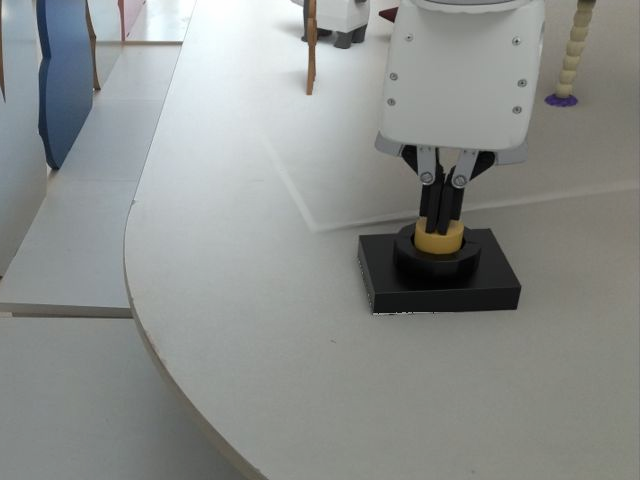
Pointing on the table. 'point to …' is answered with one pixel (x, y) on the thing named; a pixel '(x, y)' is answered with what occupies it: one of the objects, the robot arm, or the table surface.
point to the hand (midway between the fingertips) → (438, 225)
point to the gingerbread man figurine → (311, 45)
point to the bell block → (437, 274)
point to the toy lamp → (572, 56)
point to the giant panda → (339, 19)
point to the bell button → (438, 238)
